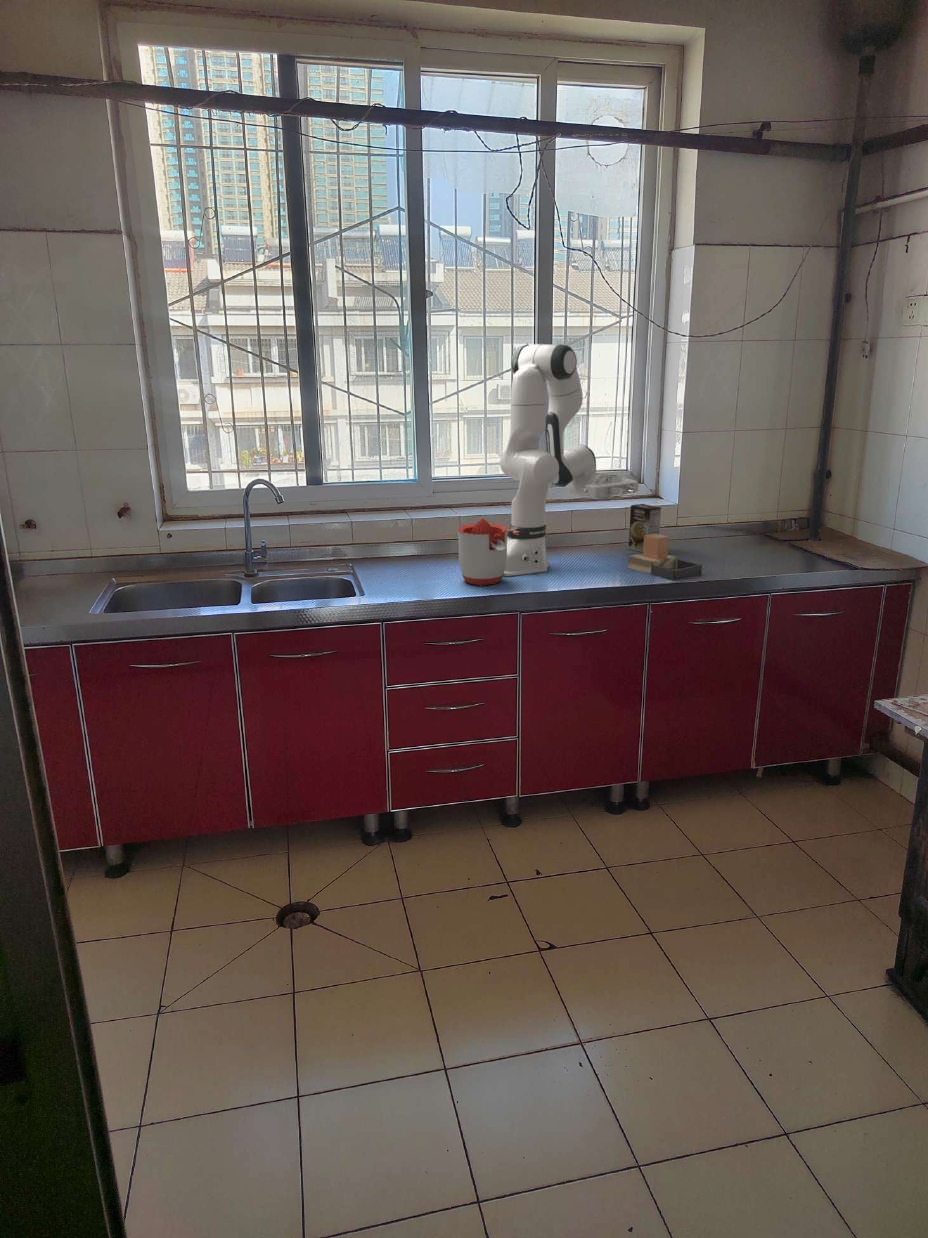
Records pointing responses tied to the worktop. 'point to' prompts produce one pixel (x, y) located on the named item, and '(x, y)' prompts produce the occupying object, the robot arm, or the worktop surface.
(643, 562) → the tan flat box
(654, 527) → the coffee box
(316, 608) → the worktop surface
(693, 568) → the tray
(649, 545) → the tile block
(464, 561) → the citrus juicer
